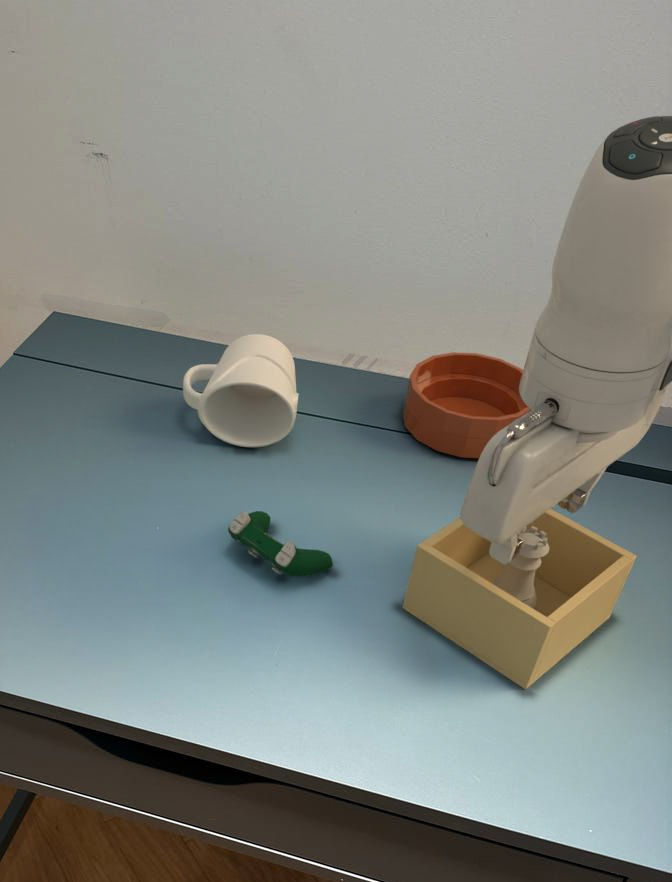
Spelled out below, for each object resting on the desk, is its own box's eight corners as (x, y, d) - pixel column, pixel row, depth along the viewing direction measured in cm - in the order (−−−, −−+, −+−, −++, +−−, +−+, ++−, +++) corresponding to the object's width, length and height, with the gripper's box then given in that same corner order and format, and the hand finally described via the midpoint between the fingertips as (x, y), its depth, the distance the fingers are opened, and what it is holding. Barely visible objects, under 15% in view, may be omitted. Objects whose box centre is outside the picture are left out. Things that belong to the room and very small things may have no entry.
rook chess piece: (521, 588, 87) (546, 516, 81) (542, 623, 84) (569, 550, 78) (472, 593, 86) (494, 520, 81) (492, 628, 83) (516, 556, 78)
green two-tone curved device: (243, 546, 94) (212, 530, 89) (265, 511, 93) (235, 494, 88) (315, 596, 89) (287, 582, 84) (339, 560, 88) (312, 544, 83)
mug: (298, 405, 108) (306, 338, 102) (290, 454, 101) (298, 385, 96) (189, 393, 109) (191, 326, 104) (175, 441, 103) (176, 372, 97)
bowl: (451, 380, 112) (461, 340, 109) (550, 430, 106) (563, 388, 102) (377, 422, 106) (385, 380, 103) (477, 477, 100) (489, 434, 96)
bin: (488, 546, 92) (507, 484, 87) (609, 618, 85) (637, 555, 80) (402, 608, 86) (417, 545, 81) (525, 689, 79) (550, 627, 74)
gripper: (542, 454, 63) (493, 611, 73) (701, 345, 73) (639, 497, 83) (461, 413, 66) (424, 569, 76) (624, 314, 76) (572, 463, 86)
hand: (537, 530), depth 79 cm, fingers open, 8 cm apart
